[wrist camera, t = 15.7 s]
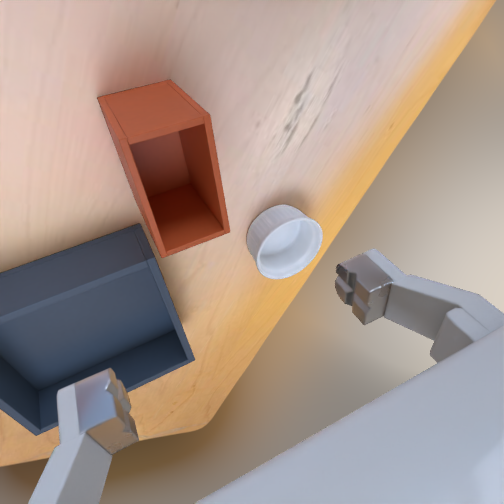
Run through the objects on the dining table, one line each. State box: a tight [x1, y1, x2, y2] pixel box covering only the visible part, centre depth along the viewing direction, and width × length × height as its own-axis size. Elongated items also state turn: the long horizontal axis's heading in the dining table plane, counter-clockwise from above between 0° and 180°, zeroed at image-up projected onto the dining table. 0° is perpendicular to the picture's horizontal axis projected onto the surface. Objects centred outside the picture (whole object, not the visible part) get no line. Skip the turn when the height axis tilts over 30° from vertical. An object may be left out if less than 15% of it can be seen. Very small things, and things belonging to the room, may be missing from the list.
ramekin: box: [247, 205, 323, 279], centre depth 44 cm, size 9×9×4 cm
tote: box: [97, 80, 230, 258], centre depth 29 cm, size 6×10×9 cm, turn 7°
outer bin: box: [0, 224, 195, 436], centre depth 38 cm, size 19×18×6 cm
